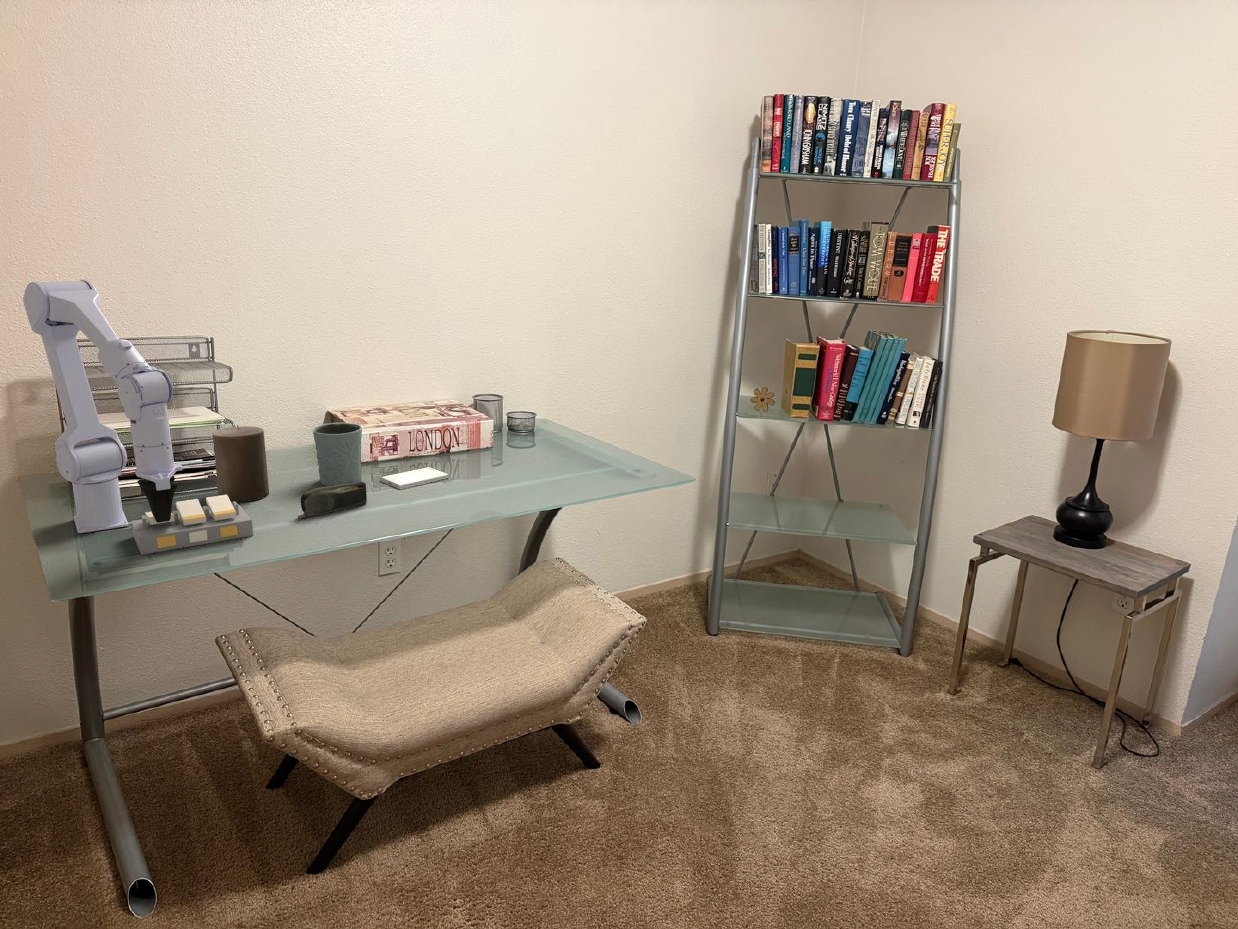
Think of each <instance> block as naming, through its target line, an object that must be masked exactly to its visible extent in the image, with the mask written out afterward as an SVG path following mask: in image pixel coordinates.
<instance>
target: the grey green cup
mask: <svg viewBox="0 0 1238 929" xmlns="http://www.w3.org/2000/svg"><path fill="white" fill-rule="evenodd" d="M362 433H363V427H362V426H361V425H360V424H357V423H353V422H330V423H324V424H319V425H317V426H315V427H313V429H312V434H313V439H314V444H315V450H316V459H317V465H318V476H319V481H320V484H321V485H324V486H326V487H328V486H335V485H341V484H348V483H354V482H361V481H362V465H361V462H362V438H363V437H362V436H363V434H362Z"/></svg>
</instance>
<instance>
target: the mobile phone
mask: <svg viewBox="0 0 1238 929" xmlns="http://www.w3.org/2000/svg"><path fill="white" fill-rule="evenodd" d="M367 493H368V492H367V484H366V482H364V481H360V482H354V483H348V484H341V485H335V486H323V487H316V488H313V489H311V490H308V491H305V492H304V493H303V494H302V495H301V496H300V507H301V510H302V513H303V514H300V515H298V516H297V518H298V519H299V520H300V519H305V518H309V517H314V516H318V515H323V514H327V513H333V512H338V511H342V510H347V509H351V508H357V507H360V506H363V505H366V503H367V500H368V499H367V498H368V496H367V495H368V494H367Z"/></svg>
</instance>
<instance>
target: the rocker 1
mask: <svg viewBox="0 0 1238 929" xmlns="http://www.w3.org/2000/svg"><path fill="white" fill-rule="evenodd" d="M144 515H145V517H146V519H147V520H148V521H149V522H150V524H151V525H152V524H158V523H157V522H156V520H155V518H154V516H153V514H152V511H145V512H144ZM171 521H175V520H174V515H173V512H171V518H170V521H165V522H171ZM165 522H159V523H165Z"/></svg>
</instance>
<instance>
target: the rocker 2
mask: <svg viewBox="0 0 1238 929" xmlns="http://www.w3.org/2000/svg"><path fill="white" fill-rule="evenodd" d="M175 505H176V506H175V507H176V511H177V512H178V514H179V515H180V517H181V520H182V522H183V524H184V526H185V525H191V524H197V523H204V522H206V516H205V514H204V512H203V506H201V503H200V501H199V499H198V498H194V499H187V500H179V501H175Z"/></svg>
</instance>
